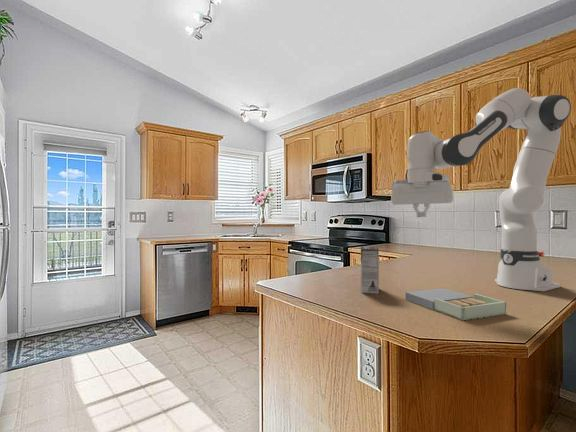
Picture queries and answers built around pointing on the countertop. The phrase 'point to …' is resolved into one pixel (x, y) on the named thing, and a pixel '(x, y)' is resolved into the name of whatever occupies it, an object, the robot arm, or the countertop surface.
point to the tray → (472, 308)
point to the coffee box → (369, 270)
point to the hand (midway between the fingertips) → (421, 217)
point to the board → (434, 296)
